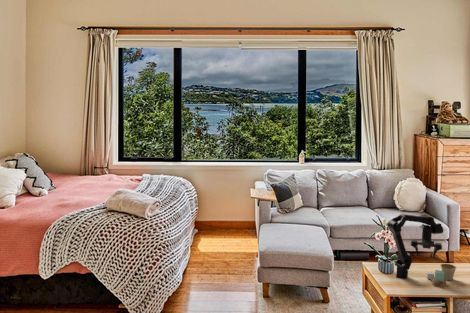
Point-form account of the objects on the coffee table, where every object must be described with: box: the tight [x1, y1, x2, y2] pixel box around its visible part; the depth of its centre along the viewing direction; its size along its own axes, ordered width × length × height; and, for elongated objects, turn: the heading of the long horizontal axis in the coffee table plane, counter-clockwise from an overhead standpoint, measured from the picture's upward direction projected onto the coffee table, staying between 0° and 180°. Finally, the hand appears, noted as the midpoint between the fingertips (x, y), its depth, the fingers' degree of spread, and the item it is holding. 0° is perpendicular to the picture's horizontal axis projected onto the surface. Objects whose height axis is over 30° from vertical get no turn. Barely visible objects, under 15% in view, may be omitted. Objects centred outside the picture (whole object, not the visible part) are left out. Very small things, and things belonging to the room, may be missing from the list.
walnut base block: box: [431, 276, 447, 288], centre depth 272 cm, size 7×7×4 cm
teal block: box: [434, 269, 444, 282], centre depth 272 cm, size 5×5×5 cm
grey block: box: [424, 270, 435, 281], centre depth 282 cm, size 4×4×4 cm
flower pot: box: [440, 263, 457, 281], centre depth 281 cm, size 9×9×9 cm
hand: (425, 257), depth 287 cm, fingers open, 9 cm apart
